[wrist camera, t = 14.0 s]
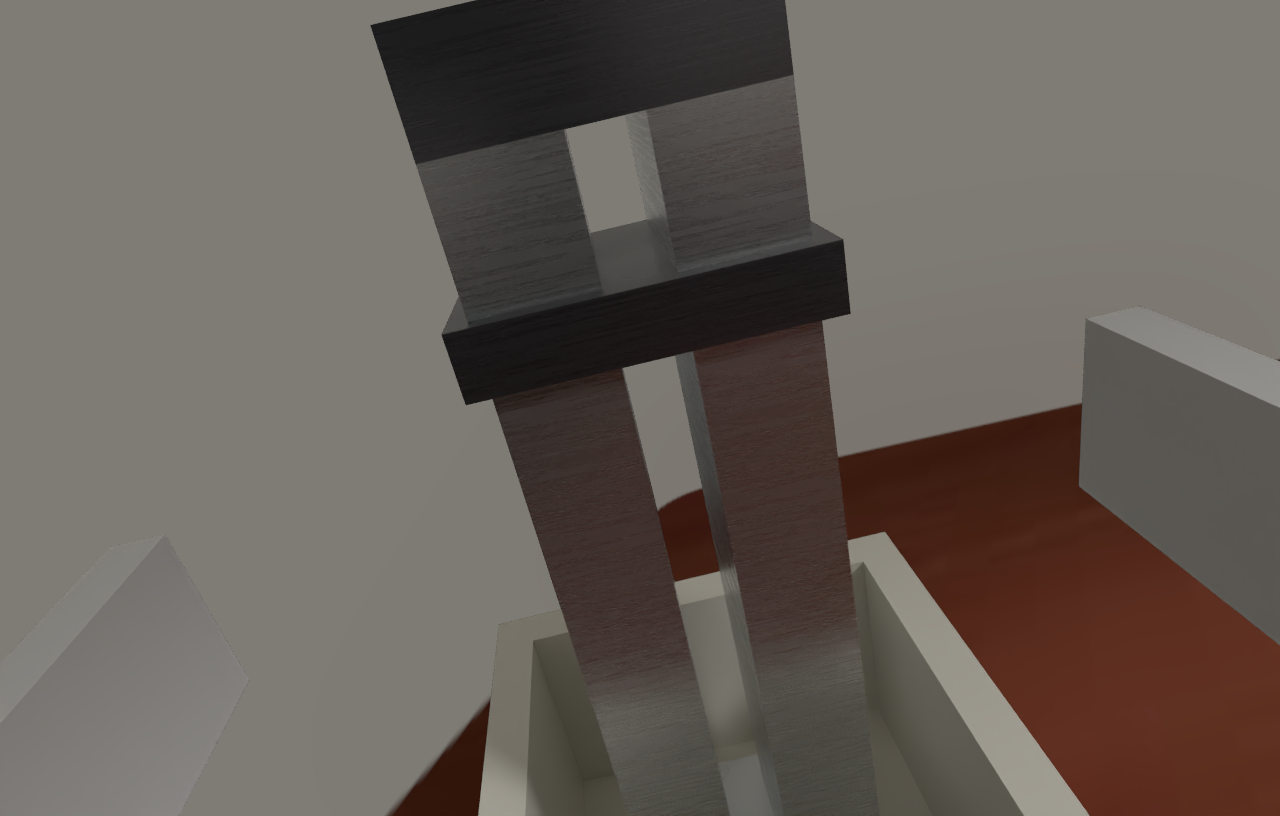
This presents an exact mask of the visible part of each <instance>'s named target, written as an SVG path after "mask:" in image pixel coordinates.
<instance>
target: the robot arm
mask: <svg viewBox="0 0 1280 816" xmlns="http://www.w3.org/2000/svg"><path fill="white" fill-rule="evenodd" d="M1084 351H1085V352H1084V373H1083V398H1082V421H1081V445H1080V469H1079V487H1081V488H1082V489H1083V490H1084V491H1086V492H1087V493H1088V494H1089V495H1091V496H1092V497H1093V498H1095V499H1096V500H1097V501H1098V502H1100V503H1101V504H1102V505H1103V506H1105V507H1106V508H1107V509H1108V510H1110V511H1111V512H1112V513H1113V514H1115V515H1116V516H1117V517H1119V518H1120V519H1121V520H1122V521H1124V522H1125V523H1126V524H1127V525H1129V526H1130V527H1131V528H1132V529H1134V530H1135V531H1136V532H1138V533H1139V534H1140V535H1141V536H1143V537H1144V538H1145V539H1146V540H1148V541H1149V542H1150V543H1151V544H1153V545H1154V546H1155V547H1156V548H1158V549H1159V550H1160V551H1162V552H1163V553H1164V554H1165V555H1167V556H1168V557H1169V558H1170V559H1172V560H1173V561H1174V562H1175V563H1177V564H1178V565H1179V566H1180V567H1182V568H1183V569H1184V570H1186V571H1187V572H1188V573H1189V574H1191V575H1192V576H1193V577H1194V578H1196V579H1197V580H1198V581H1199V582H1201V583H1202V584H1203V585H1205V586H1206V587H1207V588H1208V589H1210V590H1211V591H1212V592H1213V593H1215V594H1216V595H1217V596H1218V597H1220V598H1221V599H1222V600H1223V601H1225V602H1226V603H1227V604H1229V605H1230V606H1231V607H1232V608H1234V609H1235V610H1236V611H1237V612H1239V613H1240V614H1241V615H1242V616H1244V617H1245V618H1246V619H1247V620H1249V621H1250V622H1251V623H1253V624H1254V625H1255V626H1256V627H1258V628H1259V629H1260V630H1261V631H1263V632H1264V633H1265V634H1266V635H1268V636H1269V637H1270V638H1272V639H1273V640H1274V641H1275V642H1277V643H1278V644H1279V645H1280V361H1277V360H1275V359H1272V358H1270V357H1267V356H1264V355H1262V354H1260V353H1257V352H1255V351H1252V350H1250V349H1247V348H1244V347H1242V346H1239V345H1237V344H1234V343H1232V342H1229V341H1227V340H1224V339H1222V338H1219V337H1217V336H1214V335H1212V334H1209V333H1207V332H1204V331H1202V330H1199V329H1196V328H1194V327H1191V326H1189V325H1186V324H1184V323H1181V322H1179V321H1176V320H1174V319H1171V318H1169V317H1166V316H1164V315H1161V314H1159V313H1156V312H1153V311H1151V310H1148V309H1146V308H1143V307H1141V306H1137V307H1133V308H1129V309H1124V310H1120V311H1116V312H1112V313H1107V314H1103V315H1099V316H1094V317H1091V318H1086V325H1085V350H1084ZM248 682H249V679H248V677H247V676H246V674H245V672H244V670H243V669H242V667H241V665H240V663H239V662H238V660H237V658H236V657H235V655H234V653H233V651H232V650H231V648H230V646H229V645H228V643H227V641H226V639H225V637H224V636H223V634H222V632H221V630H220V629H219V627H218V625H217V624H216V622H215V620H214V618H213V617H212V615H211V613H210V612H209V610H208V608H207V606H206V605H205V603H204V601H203V599H202V598H201V596H200V594H199V592H198V591H197V589H196V587H195V585H194V584H193V582H192V580H191V578H190V577H189V575H188V573H187V571H186V570H185V568H184V566H183V565H182V563H181V561H180V559H179V558H178V556H177V554H176V552H175V551H174V549H173V547H172V545H171V544H170V542H169V540H168V538H167V537H166V535H160V536H156V537H152V538H148V539H143V540H139V541H134V542H130V543H126V544H122V545H117V546H113V547H111V548H110V549H109V550H108V551H107V552H106V553H105V554H104V555H103V556H102V557H101V558H100V559H99V560H98V561H97V562H96V563H95V565H93V567H92V568H91V569H90V570H89V571H88V572H87V573H86V574H85V575H84V576H83V577H82V578H81V579H80V580H79V581H78V582H77V583H76V584H75V585H74V586H73V587H72V588H71V590H69V591H68V593H67V594H66V595H65V596H64V597H63V598H62V599H61V600H60V601H59V602H58V603H57V604H56V605H55V606H54V607H53V608H52V609H51V610H50V611H49V612H48V613H47V614H46V616H44V618H43V619H42V620H41V621H40V622H39V623H38V624H37V625H36V626H35V627H34V628H33V629H32V630H31V631H30V632H29V633H28V634H27V635H26V636H25V637H24V638H23V640H22V641H21V642H19V644H18V645H17V646H16V647H15V648H14V649H13V650H12V651H11V652H10V653H9V654H8V655H7V656H6V657H5V658H4V659H3V660H2V661H1V662H0V816H179V815H180V813H181V811H182V809H183V807H184V805H185V803H186V801H187V799H188V797H189V796H190V794H191V792H192V789H193V788H194V786H195V784H196V782H197V780H198V778H199V776H200V774H201V772H202V771H203V768H204V766H205V765H206V763H207V761H208V759H209V757H210V755H211V753H212V751H213V749H214V747H215V745H216V744H217V742H218V740H219V738H220V736H221V734H222V732H223V730H224V728H225V726H226V724H227V722H228V720H229V718H230V717H231V715H232V713H233V711H234V709H235V707H236V705H237V703H238V701H239V699H240V697H241V695H242V693H243V692H244V690H245V688H246V686H247V684H248Z"/></svg>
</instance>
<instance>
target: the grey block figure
mask: <svg viewBox="0 0 1280 816" xmlns="http://www.w3.org/2000/svg"><path fill="white" fill-rule="evenodd" d="M787 23H788V22H787V15H786V5H785V0H475V1H471V2H466V3H462V4H458V5H454V6H450V7H445V8H441V9H437V10H433V11H428V12H424V13H420V14H416V15H411V16H407V17H403V18H399V19H394V20H390V21H386V22H382V23H378V24H373V25H371V28H372V32H373V35H374V38H375V41H376V44H377V47H378V50H379V53H380V56H381V59H382V62H383V65H384V68H385V71H386V74H387V77H388V81H389V84H390V86H391V90H392V93H393V96H394V99H395V102H396V105H397V108H398V111H399V114H400V117H401V120H402V123H403V126H404V129H405V133H406V136H407V138H408V142H409V145H410V148H411V151H412V154H413V157H414V160H415V163H416V166H417V169H418V172H419V176H420V179H421V181H422V184H423V188H424V191H425V194H426V197H427V200H428V203H429V206H430V209H431V212H432V215H433V218H434V221H435V225H436V228H437V231H438V234H439V237H440V240H441V243H442V246H443V249H444V252H445V255H446V258H447V261H448V264H449V267H450V270H451V273H452V276H453V280H454V283H455V285H456V289H457V292H458V295H459V297H458V299H457V302H456V304H455V306H454V308H453V311H452V313H451V315H450V317H449V319H448V321H447V324H446V326H445V328H444V330H443V332H442V338H443V340H444V343H445V346H446V349H447V352H448V355H449V358H450V361H451V364H452V366H453V369H454V372H455V375H456V378H457V381H458V384H459V387H460V390H461V393H462V396H463V399H464V401H465V404H466V405H469V404H473V403H477V402H481V401H486V400H490V399H493V402H494V405H495V408H496V411H497V414H498V417H499V421H500V423H501V427H502V430H503V433H504V436H505V439H506V442H507V445H508V448H509V451H510V454H511V457H512V460H513V463H514V466H515V469H516V473H517V476H518V478H519V482H520V485H521V488H522V491H523V494H524V497H525V500H526V503H527V506H528V509H529V512H530V515H531V518H532V522H533V525H534V527H535V531H536V534H537V537H538V540H539V543H540V546H541V549H542V552H543V555H544V558H545V561H546V564H547V568H548V571H549V574H550V577H551V580H552V583H553V586H554V589H555V592H556V595H557V598H558V601H559V604H560V607H561V610H562V613H563V617H564V620H565V623H566V626H567V629H568V632H569V635H570V638H571V641H572V644H573V647H574V650H575V653H576V656H577V659H578V662H579V666H580V669H581V672H582V675H583V678H584V681H585V684H586V687H587V690H588V693H589V696H590V699H591V702H592V705H593V708H594V711H595V715H596V718H597V721H598V724H599V727H600V730H601V733H602V736H603V739H604V742H605V745H606V748H607V751H608V754H609V757H610V760H611V764H612V767H613V770H614V773H615V776H616V779H617V782H618V785H619V788H620V791H621V794H622V797H623V800H624V803H625V806H626V809H627V813H628V816H879V808H878V800H877V791H876V783H875V774H874V765H873V757H872V748H871V739H870V731H869V722H868V713H867V705H866V696H865V687H864V679H863V670H862V662H861V653H860V644H859V636H858V627H857V618H856V610H855V601H854V592H853V584H852V575H851V567H850V558H849V549H848V541H847V532H846V523H845V515H844V506H843V497H842V489H841V480H840V472H839V463H838V454H837V446H836V437H835V428H834V420H833V411H832V403H831V394H830V385H829V378H828V368H827V359H826V351H825V343H824V333H823V325H822V320H826V319H830V318H834V317H839V316H843V315H847V314H850V303H849V293H848V283H847V273H846V263H845V253H844V242H843V239H842V238H840V237H838V236H836V235H835V234H833V233H831V232H829V231H828V230H826V229H824V228H822V227H821V226H819V225H817V224H815V223H813V222H812V221H810V213H809V204H808V196H807V187H806V178H805V169H804V161H803V152H802V143H801V136H800V127H799V117H798V109H797V100H796V92H795V83H794V74H793V66H792V58H791V49H790V40H789V31H788V24H787ZM622 115H625V117H626V122H627V127H628V132H629V136H630V141H631V146H632V151H633V156H634V160H635V166H636V170H637V175H638V180H639V185H640V190H641V194H642V199H643V204H644V209H645V214H646V218H647V220H644V221H640V222H635V223H631V224H627V225H623V226H618V227H614V228H610V229H606V230H601V231H598V232H593V233H590V229H589V225H588V221H587V216H586V212H585V208H584V204H583V200H582V196H581V192H580V187H579V183H578V179H577V175H576V171H575V166H574V163H573V158H572V154H571V150H570V146H569V141H568V137H567V133H566V129H567V128H571V127H576V126H580V125H584V124H588V123H593V122H597V121H601V120H605V119H610V118H614V117H618V116H622ZM670 356H675V358H676V363H677V368H678V373H679V378H680V383H681V387H682V392H683V397H684V402H685V407H686V411H687V416H688V421H689V425H690V431H691V435H692V440H693V445H694V450H695V455H696V460H697V465H698V469H699V474H700V478H701V484H702V489H703V493H704V498H705V503H706V508H707V513H708V518H709V522H710V527H711V532H712V537H713V542H714V546H715V551H716V556H717V561H718V566H719V571H720V575H721V580H722V585H723V590H724V595H725V600H726V604H727V609H728V614H729V619H730V624H731V628H732V633H733V638H734V643H735V648H736V653H737V657H738V662H739V667H740V672H741V677H742V682H743V686H744V691H745V696H746V701H747V706H748V710H749V715H750V720H751V725H752V730H753V735H754V739H755V744H756V749H757V754H756V755H752V756H748V757H743V758H739V759H735V760H731V761H727V762H723V763H718V761H717V757H716V752H715V748H714V744H713V740H712V736H711V732H710V727H709V723H708V719H707V715H706V711H705V707H704V703H703V698H702V694H701V690H700V686H699V682H698V678H697V673H696V669H695V665H694V661H693V657H692V653H691V648H690V644H689V640H688V636H687V632H686V628H685V624H684V619H683V615H682V611H681V607H680V603H679V599H678V594H677V590H676V586H675V582H674V578H673V574H672V570H671V565H670V561H669V557H668V553H667V549H666V545H665V540H664V536H663V532H662V528H661V524H660V520H659V516H658V511H657V507H656V503H655V499H654V495H653V491H652V486H651V482H650V478H649V474H648V470H647V466H646V462H645V457H644V454H643V449H642V445H641V441H640V437H639V432H638V428H637V424H636V420H635V416H634V412H633V408H632V403H631V400H630V395H629V391H628V387H627V383H626V378H625V374H624V370H623V368H624V367H629V366H633V365H636V364H641V363H645V362H650V361H653V360H658V359H662V358H666V357H670Z"/></svg>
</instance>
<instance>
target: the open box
mask: <svg viewBox="0 0 1280 816" xmlns="http://www.w3.org/2000/svg"><path fill="white" fill-rule="evenodd" d="M848 549H849V558H850V567H851V575H852V584H853V592H854V601H855V610H856V618H857V627H858V636H859V644H860V653H861V662H862V670H863V679H864V687H865V696H866V705H867V713H868V722H869V731H870V739H871V748H872V757H873V765H874V774H875V783H876V791H877V800H878V808H879V816H1089V814H1088V813H1087V812H1086V810H1085V809H1084V807H1083V806H1082V805H1081V803H1080V802H1079V800H1078V799H1077V798H1076V796H1075V795H1074V794H1073V792H1072V791H1071V789H1070V788H1069V787H1068V785H1067V784H1066V782H1065V781H1064V780H1063V778H1062V777H1061V775H1060V774H1059V773H1058V771H1057V770H1056V769H1055V767H1054V766H1053V764H1052V763H1051V762H1050V760H1049V759H1048V757H1047V756H1046V755H1045V753H1044V752H1043V751H1042V749H1041V748H1040V746H1039V745H1038V744H1037V742H1036V741H1035V739H1034V738H1033V737H1032V735H1031V734H1030V732H1029V731H1028V730H1027V728H1026V727H1025V726H1024V724H1023V723H1022V721H1021V720H1020V719H1019V717H1018V716H1017V714H1016V713H1015V712H1014V710H1013V709H1012V708H1011V706H1010V705H1009V703H1008V702H1007V701H1006V699H1005V698H1004V696H1003V695H1002V694H1001V692H1000V691H999V690H998V688H997V687H996V685H995V684H994V683H993V681H992V680H991V678H990V677H989V676H988V674H987V673H986V671H985V670H984V669H983V667H982V666H981V665H980V663H979V662H978V660H977V659H976V658H975V656H974V655H973V653H972V652H971V651H970V649H969V648H968V647H967V645H966V644H965V642H964V641H963V640H962V638H961V637H960V635H959V634H958V633H957V631H956V630H955V628H954V627H953V626H952V624H951V623H950V622H949V620H948V619H947V617H946V616H945V615H944V613H943V612H942V610H941V609H940V608H939V606H938V605H937V604H936V602H935V601H934V599H933V598H932V597H931V595H930V594H929V592H928V591H927V590H926V588H925V587H924V586H923V584H922V583H921V581H920V580H919V579H918V577H917V576H916V574H915V573H914V572H913V570H912V569H911V567H910V566H909V565H908V563H907V562H906V561H905V559H904V558H903V556H902V555H901V554H900V552H899V551H898V549H897V548H896V547H895V545H894V544H893V543H892V541H891V540H890V538H889V537H888V536H887V534H886V533H885V532H882V533H878V534H874V535H869V536H865V537H861V538H857V539H853V540H848ZM675 586H676V590H677V594H678V599H679V603H680V607H681V611H682V615H683V619H684V624H685V628H686V632H687V636H688V640H689V644H690V648H691V653H692V657H693V661H694V665H695V669H696V673H697V678H698V682H699V686H700V690H701V694H702V698H703V703H704V707H705V711H706V715H707V719H708V723H709V727H710V732H711V736H712V740H713V744H714V748H715V752H716V757H717V761H718V763H723V762H727V761H731V760H735V759H739V758H743V757H748V756H752V755H756V754H757V749H756V744H755V739H754V735H753V730H752V725H751V720H750V715H749V710H748V706H747V701H746V696H745V691H744V686H743V682H742V677H741V672H740V667H739V662H738V657H737V653H736V648H735V643H734V638H733V633H732V628H731V624H730V619H729V614H728V609H727V604H726V600H725V595H724V590H723V585H722V580H721V575H720V571H719V572H715V573H711V574H707V575H702V576H698V577H694V578H690V579H686V580H682V581H677V582H675ZM478 816H628V813H627V809H626V806H625V803H624V800H623V797H622V794H621V791H620V788H619V785H618V782H617V779H616V776H615V773H614V770H613V767H612V764H611V760H610V757H609V754H608V751H607V748H606V745H605V742H604V739H603V736H602V733H601V730H600V727H599V724H598V721H597V718H596V715H595V711H594V708H593V705H592V702H591V699H590V696H589V693H588V690H587V687H586V684H585V681H584V678H583V675H582V672H581V669H580V666H579V662H578V659H577V656H576V653H575V650H574V647H573V644H572V641H571V638H570V635H569V632H568V629H567V626H566V623H565V620H564V617H563V613H562V610H556V611H552V612H548V613H544V614H540V615H535V616H531V617H528V618H523V619H519V620H515V621H510V622H507V623H502V624H499V628H498V637H497V646H496V655H495V665H494V674H493V683H492V693H491V702H490V711H489V720H488V730H487V739H486V748H485V758H484V767H483V776H482V786H481V795H480V804H479V814H478Z"/></svg>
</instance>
